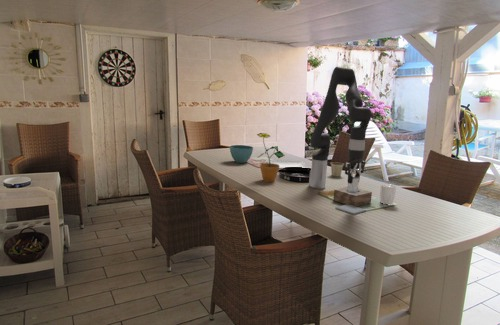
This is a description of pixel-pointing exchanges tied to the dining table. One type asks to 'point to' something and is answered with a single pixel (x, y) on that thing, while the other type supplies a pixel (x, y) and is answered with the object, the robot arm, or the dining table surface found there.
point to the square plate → (288, 163)
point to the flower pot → (336, 168)
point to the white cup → (387, 193)
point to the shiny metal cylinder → (353, 185)
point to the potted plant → (269, 169)
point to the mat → (350, 209)
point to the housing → (352, 196)
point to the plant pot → (241, 153)
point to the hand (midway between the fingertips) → (353, 182)
